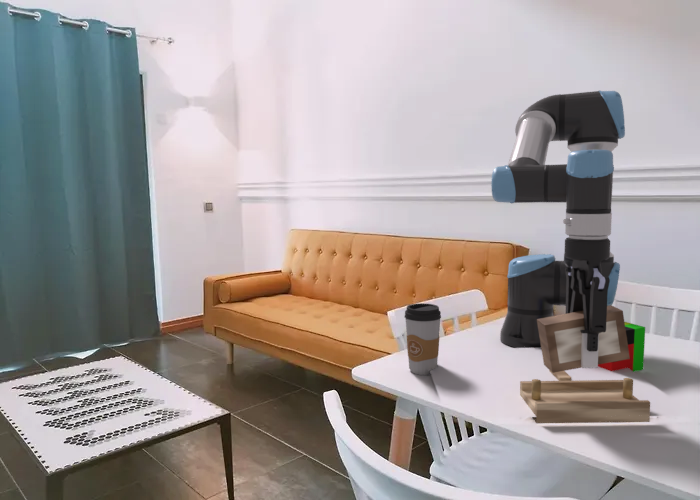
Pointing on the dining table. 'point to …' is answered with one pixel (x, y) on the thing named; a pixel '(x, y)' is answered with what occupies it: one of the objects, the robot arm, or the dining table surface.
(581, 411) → the ledge
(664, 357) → the dining table surface
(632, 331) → the puzzle toy
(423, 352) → the coffee cup
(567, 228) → the robot arm
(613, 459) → the dining table surface
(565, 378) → the block
